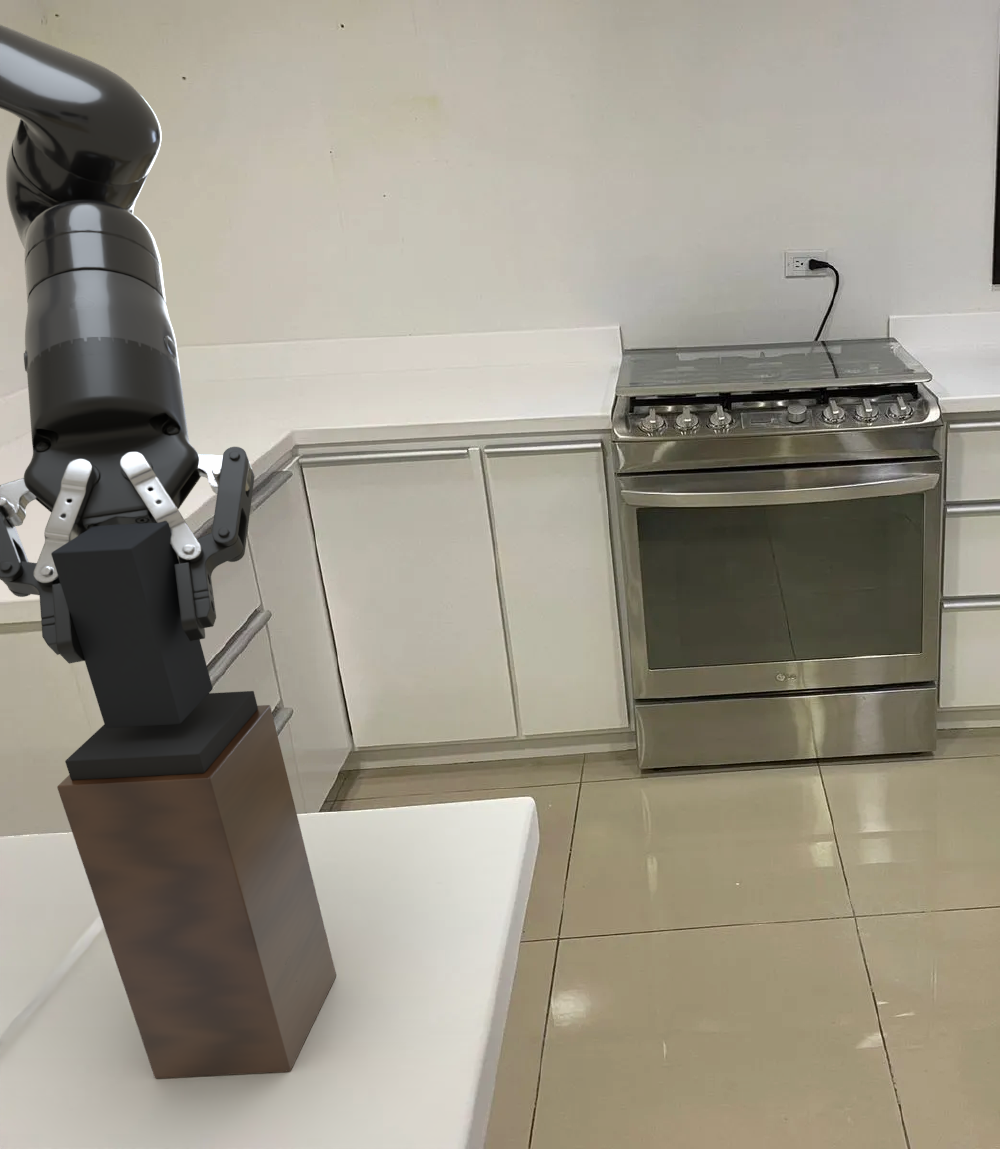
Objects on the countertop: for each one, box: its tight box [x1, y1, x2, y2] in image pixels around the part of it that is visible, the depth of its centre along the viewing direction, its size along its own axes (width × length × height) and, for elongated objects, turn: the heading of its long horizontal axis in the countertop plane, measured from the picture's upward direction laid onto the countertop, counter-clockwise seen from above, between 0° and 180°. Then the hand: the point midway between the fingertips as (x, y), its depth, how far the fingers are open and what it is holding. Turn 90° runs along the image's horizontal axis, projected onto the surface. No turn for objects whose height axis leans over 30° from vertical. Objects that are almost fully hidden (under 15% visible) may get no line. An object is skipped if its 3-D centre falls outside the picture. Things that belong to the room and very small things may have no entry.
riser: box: [56, 704, 337, 1079], centre depth 65 cm, size 8×8×20 cm
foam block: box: [51, 522, 214, 728], centre depth 59 cm, size 4×4×10 cm
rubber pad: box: [64, 690, 259, 780], centre depth 61 cm, size 7×7×1 cm
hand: (133, 644), depth 58 cm, fingers closed on foam block, 5 cm apart
